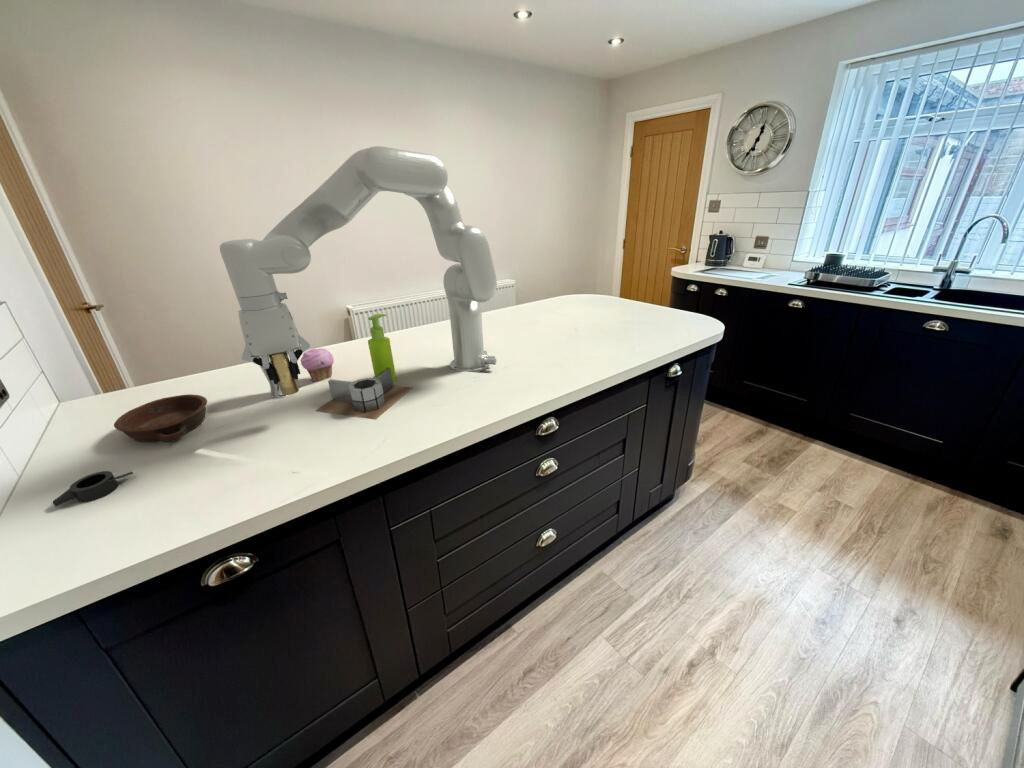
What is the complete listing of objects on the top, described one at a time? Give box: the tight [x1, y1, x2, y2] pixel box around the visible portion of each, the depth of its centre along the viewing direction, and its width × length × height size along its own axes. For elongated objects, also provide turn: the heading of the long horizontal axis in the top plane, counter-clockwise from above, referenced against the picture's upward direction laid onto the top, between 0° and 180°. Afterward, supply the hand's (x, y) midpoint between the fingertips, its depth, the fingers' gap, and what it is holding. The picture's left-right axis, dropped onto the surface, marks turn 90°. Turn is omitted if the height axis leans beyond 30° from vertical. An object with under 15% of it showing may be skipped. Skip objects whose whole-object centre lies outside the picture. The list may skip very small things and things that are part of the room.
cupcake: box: [300, 347, 334, 383], centre depth 116 cm, size 9×9×10 cm
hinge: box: [327, 368, 394, 413], centre depth 103 cm, size 15×15×6 cm
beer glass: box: [259, 355, 287, 398], centre depth 108 cm, size 7×7×15 cm
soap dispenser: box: [367, 313, 397, 381], centre depth 112 cm, size 6×7×20 cm
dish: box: [113, 393, 208, 443], centre depth 95 cm, size 17×22×5 cm
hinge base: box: [314, 384, 414, 421], centre depth 104 cm, size 18×18×1 cm
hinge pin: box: [269, 352, 300, 396], centre depth 90 cm, size 4×4×10 cm
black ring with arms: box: [52, 470, 134, 508], centre depth 74 cm, size 8×10×3 cm
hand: (286, 379), depth 90 cm, fingers closed on hinge pin, 3 cm apart
